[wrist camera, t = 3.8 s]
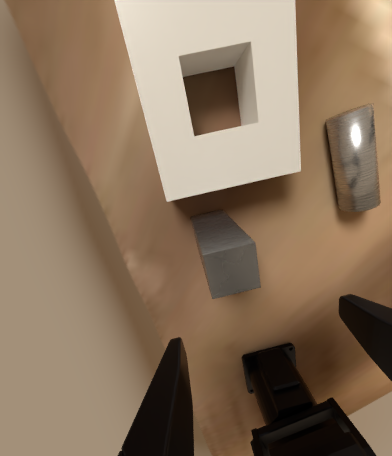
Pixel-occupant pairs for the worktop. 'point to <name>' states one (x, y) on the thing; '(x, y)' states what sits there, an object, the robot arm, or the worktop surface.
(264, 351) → the robot arm
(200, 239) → the square bit
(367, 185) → the round bit
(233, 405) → the worktop surface
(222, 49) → the socket block
